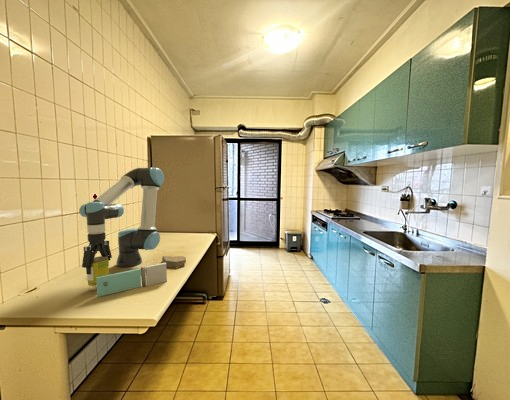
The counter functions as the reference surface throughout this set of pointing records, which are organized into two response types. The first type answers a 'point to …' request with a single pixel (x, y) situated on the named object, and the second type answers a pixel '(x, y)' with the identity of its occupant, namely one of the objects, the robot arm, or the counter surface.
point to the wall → (154, 274)
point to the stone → (174, 261)
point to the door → (118, 282)
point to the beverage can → (99, 269)
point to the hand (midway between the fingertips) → (98, 276)
